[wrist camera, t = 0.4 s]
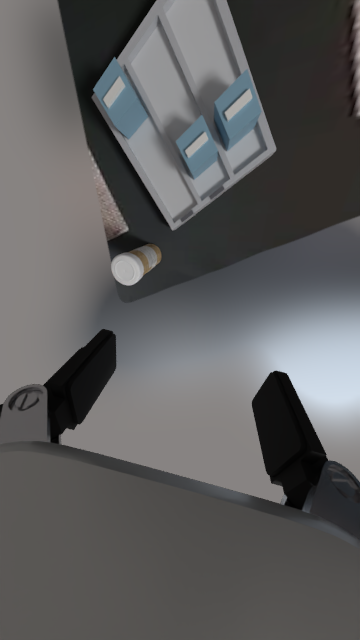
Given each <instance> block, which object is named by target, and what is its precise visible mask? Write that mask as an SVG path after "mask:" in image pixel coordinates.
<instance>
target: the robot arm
mask: <svg viewBox="0 0 360 640" xmlns="http://www.w3.org/2000/svg"><path fill="white" fill-rule="evenodd" d="M115 369H116V336H115V334H113V332H112V331H109V330H105V329H102V330H101V331H100V332H99V333H98V334H97V335H96V336H95V337H94V338H93V339H92V340H91V341H90V342H89V343H88V344H87V345H86V346H85V347H83V348H81V349H79V350H78V351H77V352H76V353H75V354H74V355H73V356H72V357H71V358H70V359H69V360H68V361H67V362H66V363H65V364H64V365H63V366H62V367H61V368H60V369H59V370H58V371H57V372H56V373H55V374H54V375H53V376H52V377H51V378H50V379H49V380H48V381H47V382H46V383H45V384H44V385H43V386H42V385H40V384H32V385H27V386H24V387H21V388H19V389H17V390H16V391H14V392H13V393H12V394H10V395H9V396H8V398H7V399H6V400H5V402H4V404H1V405H0V640H360V482H359V481H358V479H357V478H356V477H355V476H354V475H353V474H352V473H351V472H350V471H349V470H348V469H347V468H346V467H344V466H343V465H342V464H340V463H338V462H335V461H328V459H327V458H326V453H325V451H324V449H323V447H322V444H321V442H320V440H319V438H318V436H317V435H316V432H315V430H314V428H313V426H312V424H311V422H310V420H309V418H308V416H307V414H306V412H305V410H304V408H303V405H302V404H301V401H300V399H299V397H298V395H297V393H296V391H295V389H294V387H293V385H292V383H291V381H290V379H289V377H288V375H287V374H286V373H283V372H279V371H274V372H273V373H272V372H271V373H270V374H269V376H268V377H267V379H266V380H265V382H264V383H263V385H262V386H261V388H260V390H259V391H258V393H257V394H256V396H255V397H254V399H253V401H252V408H253V412H254V417H255V422H256V427H257V431H258V436H259V441H260V445H261V450H262V454H263V459H264V464H265V468H266V472H267V474H268V475H270V479H271V483H272V484H276V485H280V486H283V490H284V496H283V498H282V501H281V503H280V504H279V503H275V502H272V501H269V500H265V499H262V498H258V497H254V496H251V495H248V494H244V493H240V492H237V491H233V490H229V489H226V488H222V487H219V486H215V485H212V484H208V483H205V482H200V481H197V480H193V479H190V478H186V477H182V476H179V475H175V474H172V473H168V472H164V471H161V470H157V469H153V468H150V467H146V466H142V465H139V464H135V463H131V462H127V461H124V460H120V459H116V458H113V457H109V456H104V455H101V454H98V453H94V452H90V451H85V450H81V449H77V448H73V447H69V446H65V445H61V434H62V433H63V432H64V430H65V429H66V428H68V429H72V430H74V429H75V427H76V426H77V424H81V423H82V421H83V420H84V419H85V417H86V415H87V414H88V412H89V411H90V409H91V408H92V406H93V404H94V403H95V401H96V400H97V398H98V396H99V395H100V393H101V392H102V390H103V389H104V387H105V385H106V384H107V382H108V381H109V379H110V378H111V376H112V374H113V373H114V371H115Z"/></svg>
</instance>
